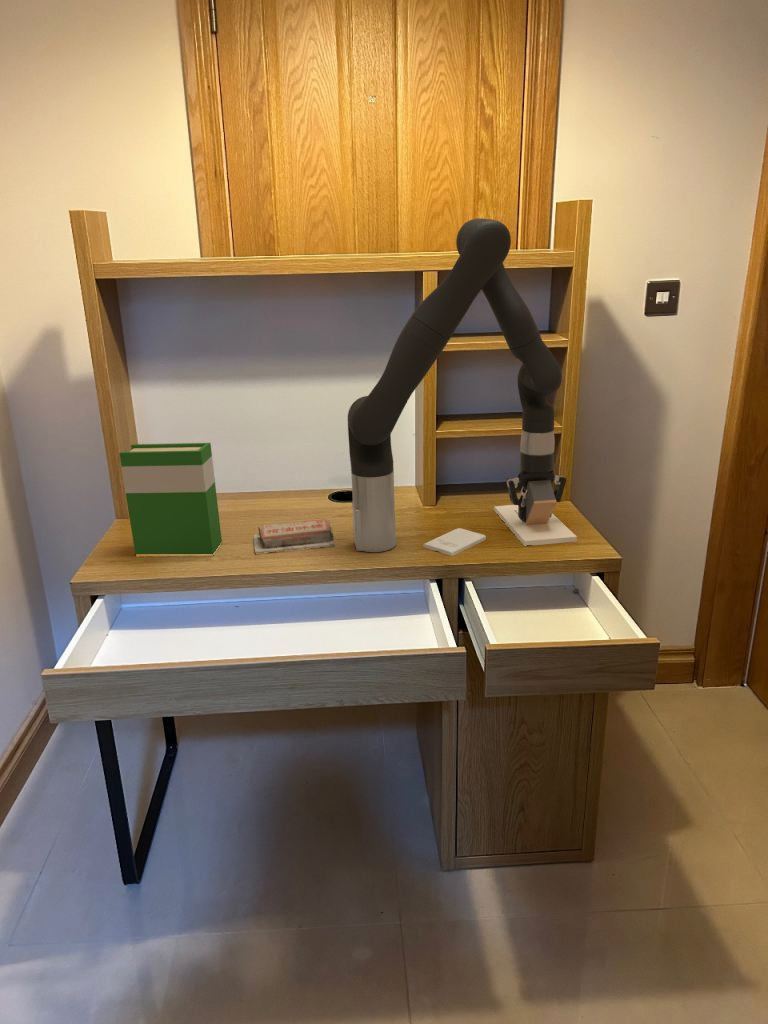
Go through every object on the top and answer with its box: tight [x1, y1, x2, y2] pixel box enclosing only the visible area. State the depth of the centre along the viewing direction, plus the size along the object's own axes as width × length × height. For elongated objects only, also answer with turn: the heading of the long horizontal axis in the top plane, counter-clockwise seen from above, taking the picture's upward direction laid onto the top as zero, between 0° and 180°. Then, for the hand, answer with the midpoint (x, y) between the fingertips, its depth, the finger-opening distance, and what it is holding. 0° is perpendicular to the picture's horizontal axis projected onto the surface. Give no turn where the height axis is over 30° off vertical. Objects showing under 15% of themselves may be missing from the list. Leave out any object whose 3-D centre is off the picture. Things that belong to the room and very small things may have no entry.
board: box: [493, 504, 578, 547], centre depth 177 cm, size 12×24×1 cm, turn 8°
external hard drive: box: [422, 527, 487, 557], centre depth 168 cm, size 2×8×12 cm
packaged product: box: [253, 519, 336, 554], centre depth 172 cm, size 18×5×10 cm
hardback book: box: [119, 442, 223, 555], centre depth 167 cm, size 18×7×24 cm, turn 87°
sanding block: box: [525, 480, 557, 525], centre depth 172 cm, size 9×5×6 cm
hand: (534, 519), depth 176 cm, fingers closed on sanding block, 5 cm apart
